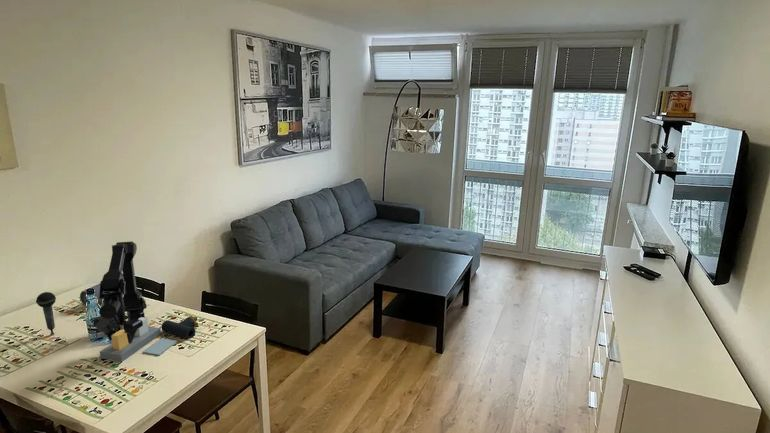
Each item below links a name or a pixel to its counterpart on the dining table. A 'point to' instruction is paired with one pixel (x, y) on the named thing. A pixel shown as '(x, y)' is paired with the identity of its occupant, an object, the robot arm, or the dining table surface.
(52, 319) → the microphone
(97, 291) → the bluetooth speaker
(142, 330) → the grey plug
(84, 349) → the dining table surface
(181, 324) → the pipe connector
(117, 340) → the tan rectangular block
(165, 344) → the slate mat
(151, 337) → the header
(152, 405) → the dining table surface
